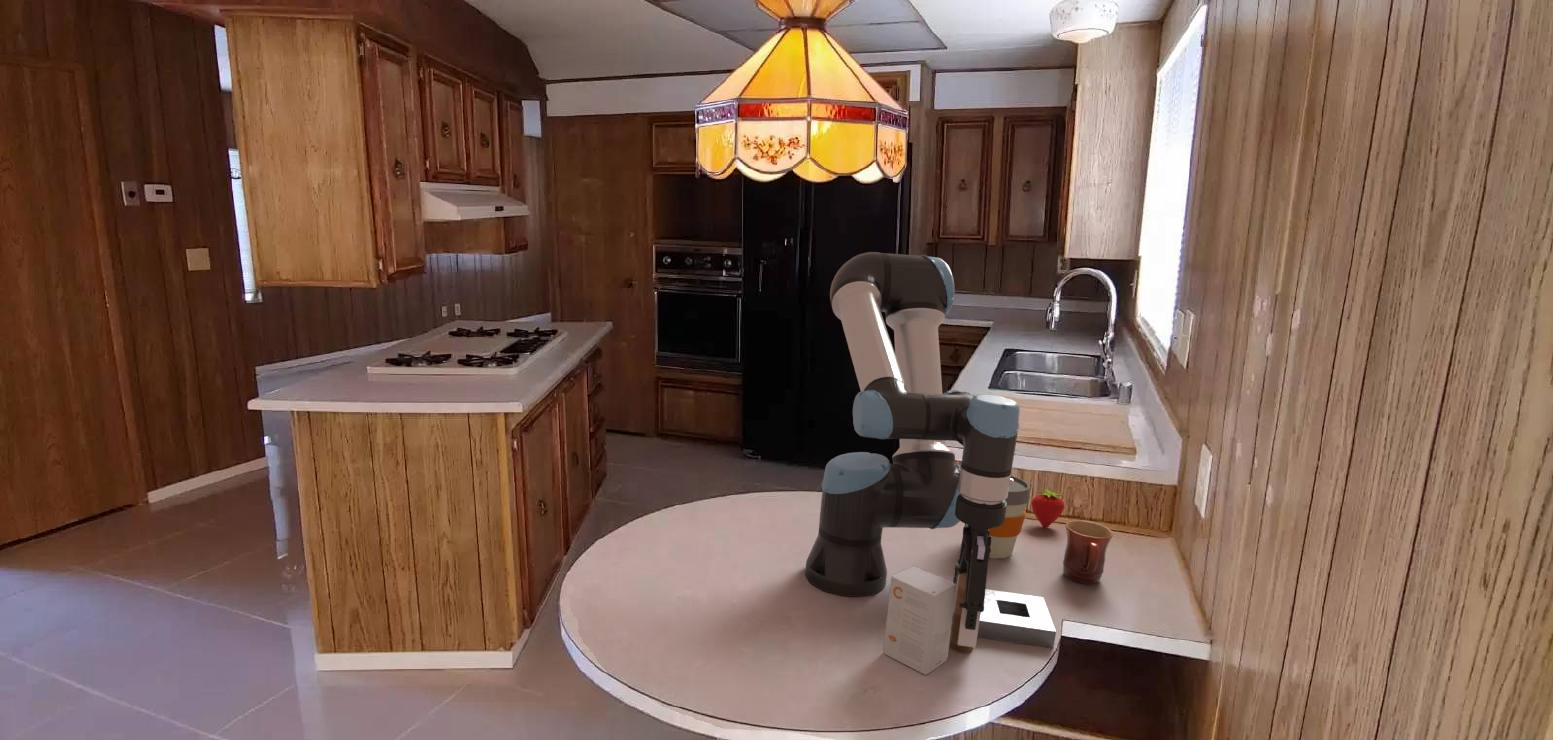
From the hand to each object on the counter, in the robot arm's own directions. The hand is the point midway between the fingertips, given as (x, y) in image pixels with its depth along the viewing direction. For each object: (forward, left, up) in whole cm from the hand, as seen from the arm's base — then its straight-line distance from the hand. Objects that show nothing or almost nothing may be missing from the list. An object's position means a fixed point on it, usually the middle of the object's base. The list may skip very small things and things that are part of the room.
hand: (964, 628), depth 127 cm
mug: (+26, +32, -3) cm, 41 cm away
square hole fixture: (+7, +10, -3) cm, 12 cm away
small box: (-7, -5, -3) cm, 10 cm away
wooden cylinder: (0, 0, -3) cm, 3 cm away
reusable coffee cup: (+9, +42, -3) cm, 43 cm away
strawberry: (+23, +59, -3) cm, 64 cm away
